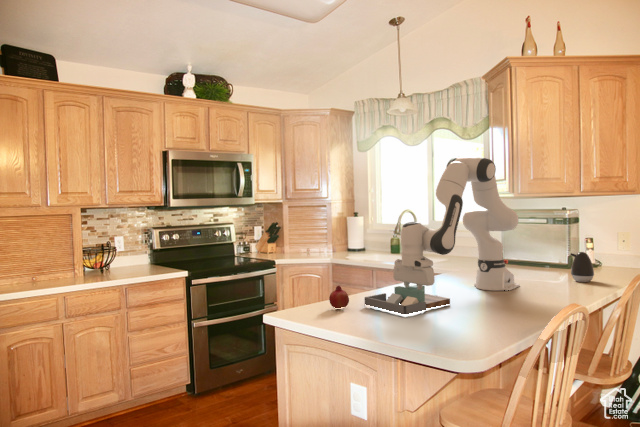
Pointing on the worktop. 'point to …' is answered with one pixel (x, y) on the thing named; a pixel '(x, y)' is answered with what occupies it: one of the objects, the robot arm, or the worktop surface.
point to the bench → (434, 301)
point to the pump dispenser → (582, 267)
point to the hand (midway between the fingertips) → (413, 293)
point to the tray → (393, 304)
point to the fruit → (339, 298)
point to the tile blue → (395, 298)
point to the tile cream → (409, 301)
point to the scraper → (411, 292)
